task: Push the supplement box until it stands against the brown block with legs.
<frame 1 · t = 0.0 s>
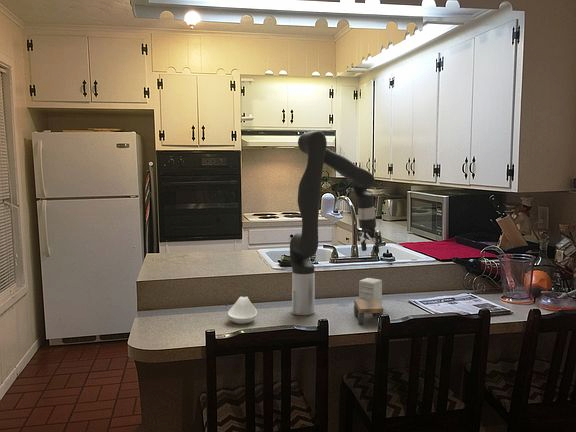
hand: (370, 252, 224), 22 cm above the breakfast bar counter, tool pointing down, fingers open, 8 cm apart
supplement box: (370, 309, 212), on the breakfast bar counter
spoon rest: (242, 318, 202), on the breakfast bar counter
brown block with legs: (368, 320, 197), on the breakfast bar counter
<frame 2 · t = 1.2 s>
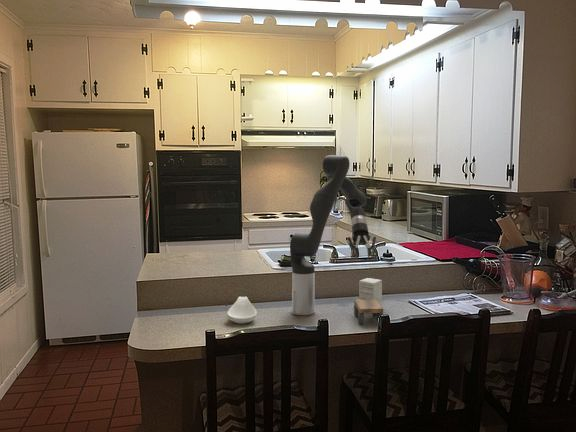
hand: (363, 256, 226), 20 cm above the breakfast bar counter, tool tilted 45°, fingers open, 4 cm apart
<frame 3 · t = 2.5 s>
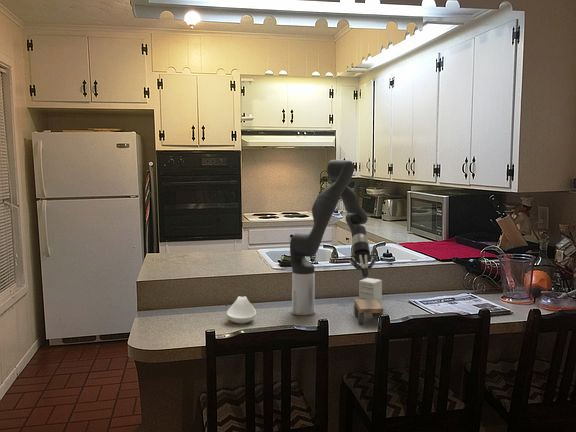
hand: (365, 276, 223), 11 cm above the breakfast bar counter, tool tilted 45°, fingers closed
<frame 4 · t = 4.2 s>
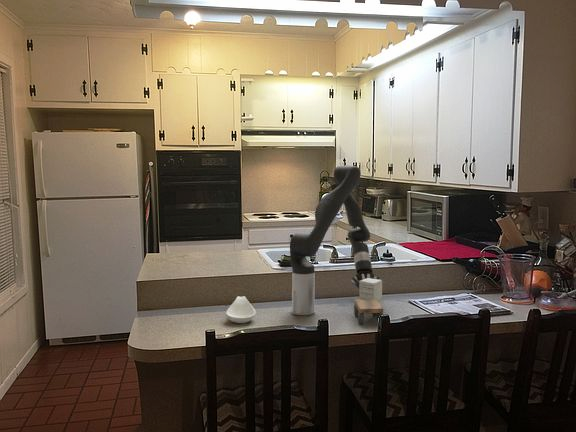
hand: (368, 296, 217), 4 cm above the breakfast bar counter, tool tilted 45°, fingers closed
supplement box: (370, 309, 212), on the breakfast bar counter, touching gripper
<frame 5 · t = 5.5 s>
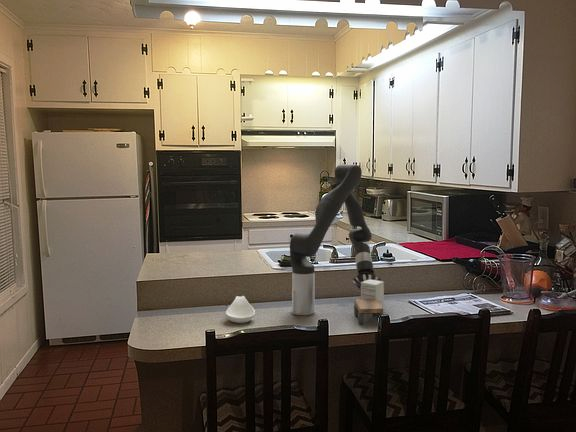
hand: (369, 297, 215), 4 cm above the breakfast bar counter, tool tilted 45°, fingers closed
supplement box: (372, 311, 209), on the breakfast bar counter
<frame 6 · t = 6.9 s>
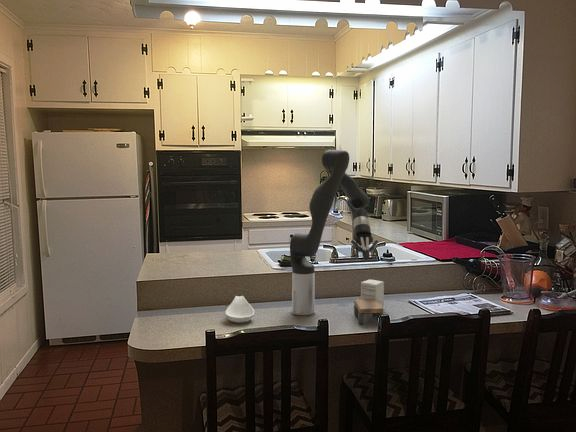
hand: (366, 258, 220), 20 cm above the breakfast bar counter, tool tilted 45°, fingers closed
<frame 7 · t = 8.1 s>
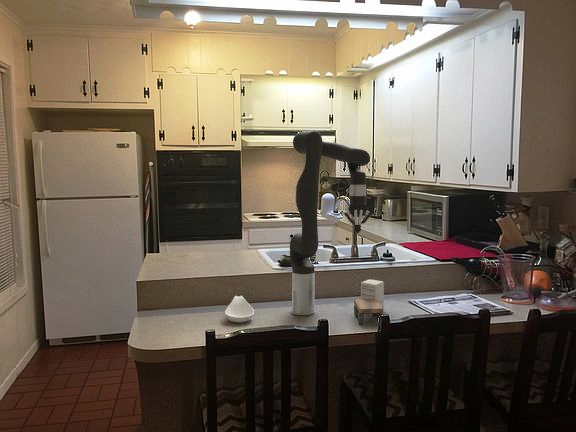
hand: (357, 232, 225), 31 cm above the breakfast bar counter, tool pointing down, fingers closed
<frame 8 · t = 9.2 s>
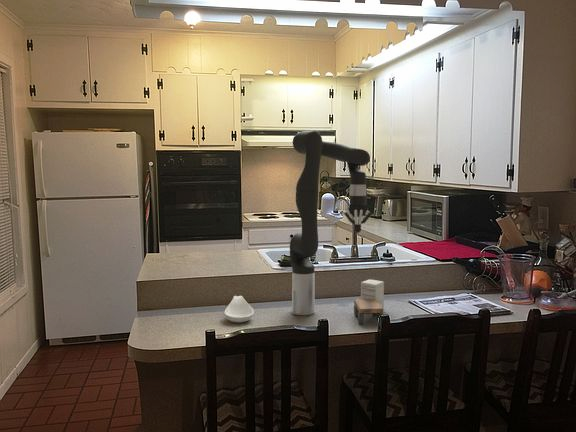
hand: (357, 232, 225), 31 cm above the breakfast bar counter, tool pointing down, fingers closed
at the end: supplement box 1.0 cm from the target spot, on the breakfast bar counter; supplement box tilted 0° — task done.
